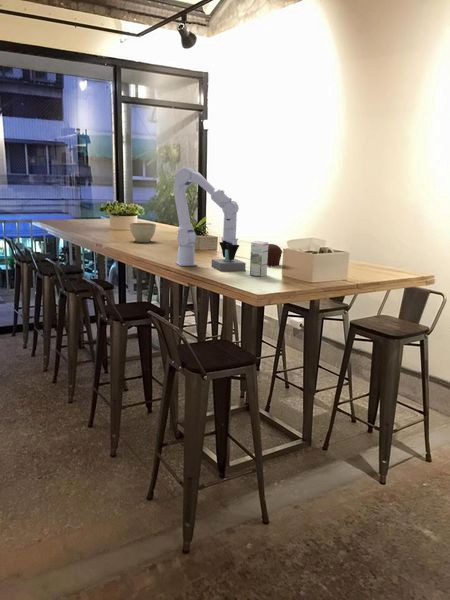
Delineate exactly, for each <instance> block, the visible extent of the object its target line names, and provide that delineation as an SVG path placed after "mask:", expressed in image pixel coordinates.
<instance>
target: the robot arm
mask: <svg viewBox="0 0 450 600" xmlns="http://www.w3.org/2000/svg"><path fill="white" fill-rule="evenodd" d="M190 184H191V185H192V184H197V185H199V187H200V188H202V189H203V190H204V191H206V192H207V193H208V194H209V195H210V199H211V200H212V201H213V202H214V204H216V205H217V206H218V207H220V209H221V210H222V213H223V230H222V231H223V232H222V233H223V234H222V236H221V241H219V242H218V243H219V246H220V248H221V253H222V257H223V259H225V250H228V255H229V260H234V259H236V254H237V251H238V250H239V248H240V245H239V244H238V240H239V239H238V238H237V220H238V219H237V216H238V215H237V213H238V212H239V209H240V208H239V205H238V203H237V201H235V200H233V199H232V197H229V196H228V195H227V194H225V191H224V190H223V189H216V187H214V186H213V185H212V184H211V183H210V182H209V181H208V179H206V178H205V177H204V176H203V175H202V174H201V173H200V172H199V171H197V170H196V168H193V167H190V168H189V167H185V166H183V167H181V168H179V169H178V171H176V173H175V179H174V181H173V185H172V189H173V196H174V201H175V207H176V214H177V220H178V228H177V237H176V240H177V243H178V246H179V247H178V248H177V257H176V258H177V261H175V264H177V265H179V266H181V267H185V266H187V267H189V266H194V267H195V266H198V264H197V263H195V249H196V248H195V246H196V245H195V243H196V241H197V239H198V238H197V234H196V232H195V229H194V226H193V225H192V223H191V217H190V211H189V206H188V205H189V204H188V200H187V199H188V198H187V193H186V190H187V189H188V187H189V186H190Z"/></svg>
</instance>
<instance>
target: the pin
mask: <svg viewBox="0 0 450 600" xmlns="http://www.w3.org/2000/svg"><path fill="white" fill-rule="evenodd" d="M224 259H225V262H232V260H229V255H228V250H225V258H224Z"/></svg>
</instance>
